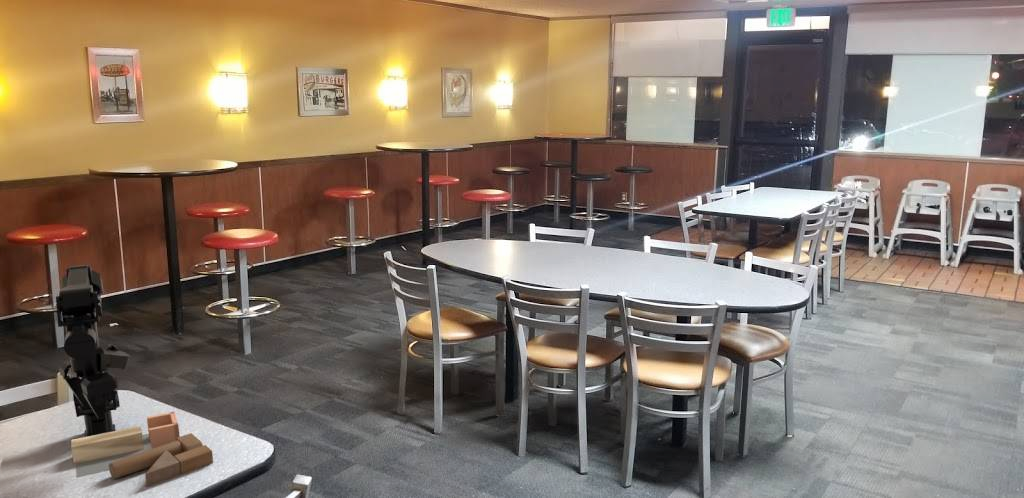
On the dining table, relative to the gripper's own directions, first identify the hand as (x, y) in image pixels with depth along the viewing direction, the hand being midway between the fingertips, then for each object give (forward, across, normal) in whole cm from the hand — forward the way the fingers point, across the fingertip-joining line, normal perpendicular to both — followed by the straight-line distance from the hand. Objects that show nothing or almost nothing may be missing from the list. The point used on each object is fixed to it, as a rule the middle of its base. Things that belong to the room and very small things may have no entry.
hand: (93, 411), depth 171 cm
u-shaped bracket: (+11, -4, -12) cm, 17 cm away
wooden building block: (+10, 0, -2) cm, 11 cm away
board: (+11, -3, -5) cm, 13 cm away
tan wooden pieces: (+9, -18, -16) cm, 25 cm away
